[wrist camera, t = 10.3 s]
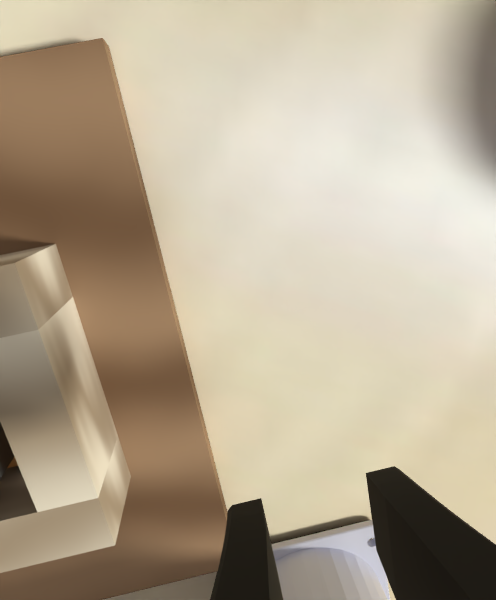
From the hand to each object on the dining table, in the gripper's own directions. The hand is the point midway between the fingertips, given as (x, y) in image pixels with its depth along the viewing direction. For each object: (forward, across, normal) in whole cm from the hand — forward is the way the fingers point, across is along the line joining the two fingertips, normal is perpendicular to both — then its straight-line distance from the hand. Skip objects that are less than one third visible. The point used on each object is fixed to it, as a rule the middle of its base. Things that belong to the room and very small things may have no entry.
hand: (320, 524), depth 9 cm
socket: (+10, +11, -1) cm, 15 cm away
